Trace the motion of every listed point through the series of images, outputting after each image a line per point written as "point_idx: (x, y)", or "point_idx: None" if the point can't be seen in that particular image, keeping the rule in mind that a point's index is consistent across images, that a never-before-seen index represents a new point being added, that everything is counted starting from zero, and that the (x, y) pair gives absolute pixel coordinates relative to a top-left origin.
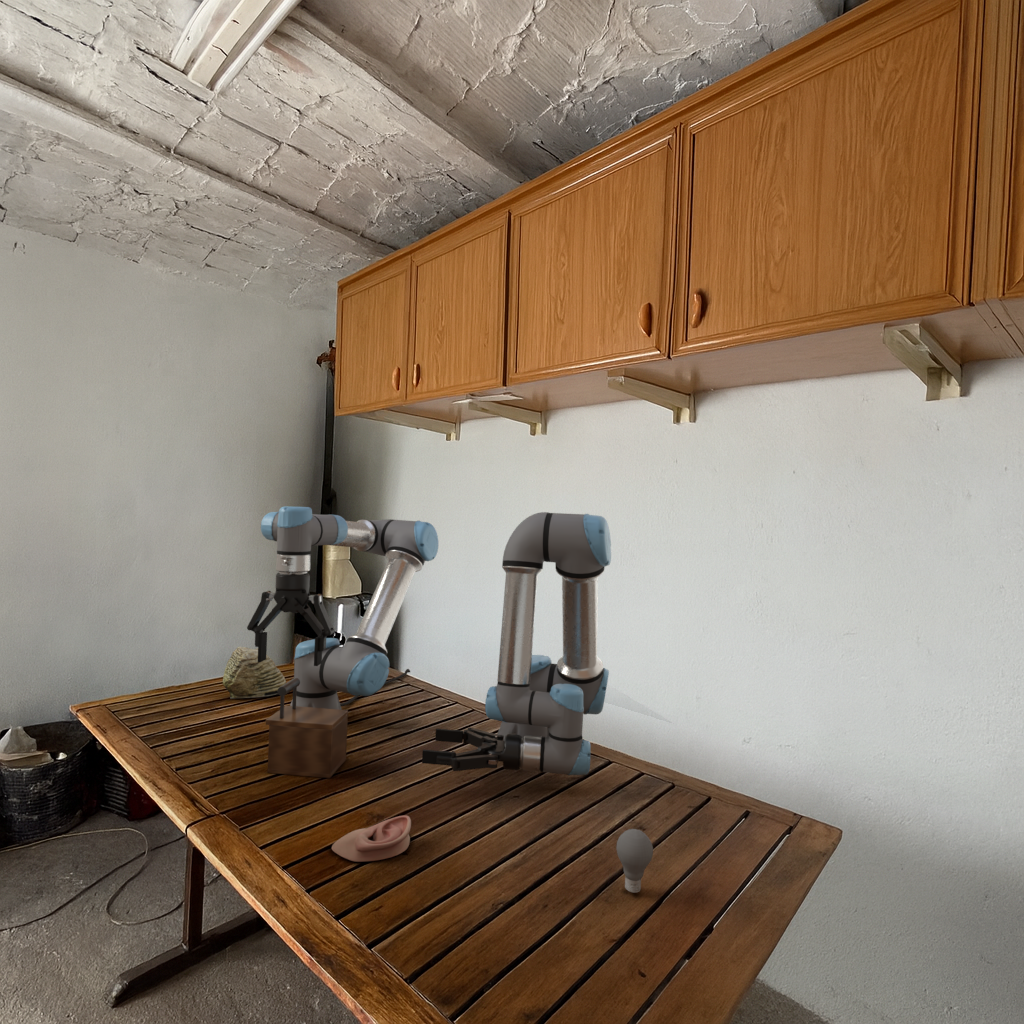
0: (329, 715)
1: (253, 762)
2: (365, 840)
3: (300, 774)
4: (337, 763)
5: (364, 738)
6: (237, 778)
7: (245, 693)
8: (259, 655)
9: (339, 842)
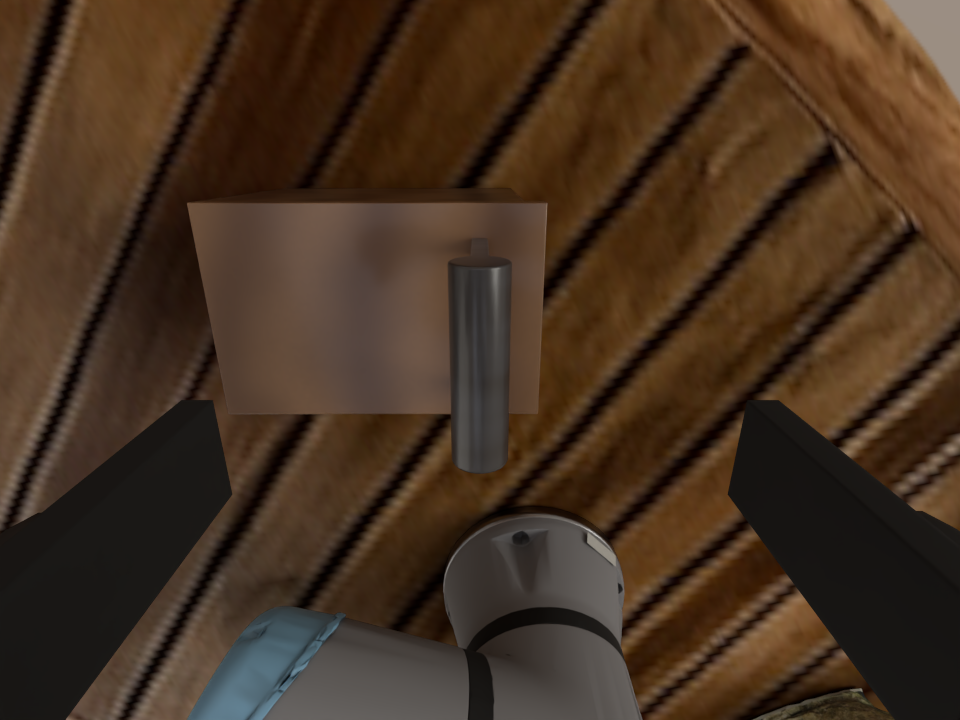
0: (271, 329)
1: (594, 260)
2: None
3: (390, 188)
4: None
5: (327, 499)
6: (592, 122)
7: (823, 710)
8: (798, 430)
9: None
